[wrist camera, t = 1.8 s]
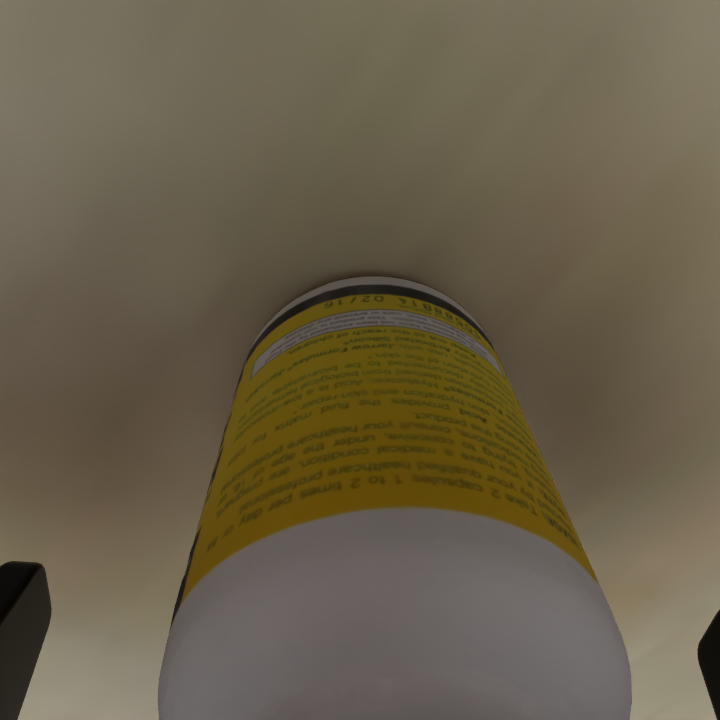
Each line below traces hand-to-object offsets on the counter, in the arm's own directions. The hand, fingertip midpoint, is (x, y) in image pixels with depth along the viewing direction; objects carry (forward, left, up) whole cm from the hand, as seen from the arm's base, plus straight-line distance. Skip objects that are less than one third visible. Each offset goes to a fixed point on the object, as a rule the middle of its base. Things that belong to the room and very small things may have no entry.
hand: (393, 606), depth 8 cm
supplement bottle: (0, 0, -6) cm, 6 cm away
